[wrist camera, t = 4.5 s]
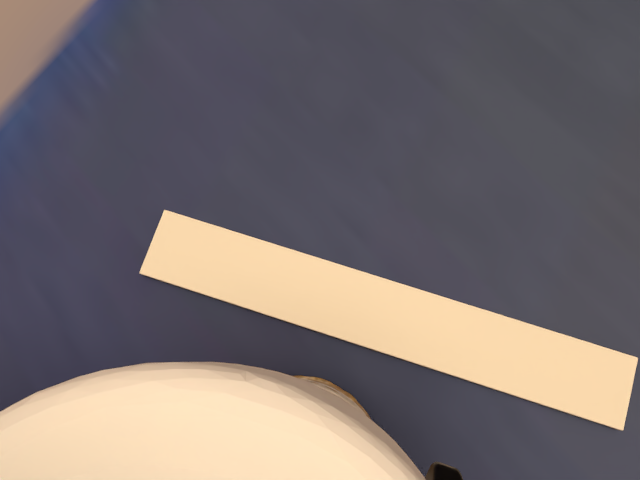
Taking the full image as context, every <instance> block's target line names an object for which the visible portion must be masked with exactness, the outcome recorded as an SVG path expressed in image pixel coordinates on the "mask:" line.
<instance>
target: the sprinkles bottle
mask: <svg viewBox="0 0 640 480" xmlns="http://www.w3.org/2000/svg"><path fill="white" fill-rule="evenodd" d="M0 480H426V479H425V478H424V476H423V475H422V474H421V472H420V471H419V470H418V468H417V467H416V466H415V464H414V463H413V462H412V461H411V459H410V458H409V457H408V456H407V455H406V454H405V452H404V451H403V450H402V449H401V448H400V446H399V445H398V444H397V443H396V442H395V441H394V440H393V439H392V438H391V437H390V436H389V435H388V434H387V433H386V432H385V431H384V430H383V429H381V428H380V427H379V426H378V425H377V424H375V423H374V422H373V421H372V420H371V419H370V417H369V415H368V413H367V412H366V411H365V409H364V408H363V407H362V406H361V405H360V404H359V403H358V402H357V401H356V399H355V398H354V397H353V396H352V395H351V394H349V393H348V392H346V391H344V390H342V389H341V388H340V387H338V386H336V385H334V384H333V383H331V382H329V381H327V380H324V379H321V378H317V377H307V376H290V375H287V374H283V373H280V372H276V371H272V370H268V369H263V368H258V367H252V366H247V365H241V364H231V363H221V362H163V363H144V364H138V365H132V366H126V367H120V368H113V369H107V370H102V371H98V372H94V373H90V374H87V375H83V376H79V377H76V378H74V379H71V380H68V381H66V382H63V383H60V384H57V385H55V386H52V387H49V388H47V389H44V390H41V391H39V392H36V393H34V394H32V395H30V396H28V397H26V398H25V399H23V400H21V401H19V402H17V403H15V404H13V405H11V406H9V407H8V408H6V409H4V410H3V411H1V412H0Z"/></svg>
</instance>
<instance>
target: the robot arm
mask: <svg viewBox="0 0 640 480" xmlns="http://www.w3.org/2000/svg"><path fill="white" fill-rule="evenodd" d="M425 479H426V480H463V478H462V475H461V473H460V472H459V470H458V469H456V468H454V467H451V466H448V465H445V464H442V463H439V462H434V463H433V464H432V465H431V466H430V468H429V471H428V473H427V475H426V477H425Z"/></svg>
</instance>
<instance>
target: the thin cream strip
mask: <svg viewBox="0 0 640 480" xmlns="http://www.w3.org/2000/svg"><path fill="white" fill-rule="evenodd" d="M140 274H142V275H144V276H148V277H151V278H154V279H157V280H160V281H163V282H166V283H169V284H172V285H175V286H178V287H181V288H184V289H187V290H191V291H194V292H197V293H200V294H203V295H206V296H209V297H212V298H215V299H218V300H221V301H224V302H227V303H230V304H234V305H237V306H240V307H243V308H246V309H249V310H252V311H255V312H258V313H261V314H264V315H267V316H270V317H273V318H276V319H280V320H283V321H286V322H289V323H292V324H295V325H298V326H301V327H304V328H307V329H310V330H313V331H316V332H319V333H323V334H326V335H329V336H332V337H335V338H338V339H341V340H344V341H347V342H350V343H353V344H356V345H359V346H362V347H366V348H369V349H372V350H375V351H378V352H381V353H384V354H387V355H390V356H393V357H396V358H399V359H402V360H405V361H408V362H412V363H415V364H418V365H421V366H424V367H427V368H430V369H433V370H436V371H439V372H442V373H445V374H448V375H451V376H455V377H458V378H461V379H464V380H467V381H470V382H473V383H476V384H479V385H482V386H485V387H488V388H491V389H494V390H498V391H501V392H504V393H507V394H510V395H513V396H516V397H519V398H522V399H525V400H528V401H531V402H534V403H537V404H540V405H544V406H547V407H550V408H553V409H556V410H559V411H562V412H565V413H568V414H571V415H574V416H577V417H580V418H583V419H587V420H590V421H593V422H596V423H599V424H602V425H605V426H608V427H611V428H614V429H617V430H622V431H623V429H624V424H625V419H626V414H627V409H628V404H629V400H630V395H631V390H632V385H633V380H634V375H635V370H636V365H637V361H638V358H637V357H634V356H630V355H627V354H624V353H621V352H618V351H614V350H611V349H608V348H605V347H602V346H598V345H595V344H592V343H589V342H586V341H582V340H579V339H576V338H573V337H570V336H566V335H563V334H560V333H557V332H554V331H550V330H547V329H544V328H541V327H538V326H534V325H531V324H528V323H525V322H522V321H518V320H515V319H512V318H509V317H506V316H502V315H499V314H496V313H493V312H490V311H486V310H483V309H480V308H477V307H474V306H470V305H467V304H464V303H461V302H458V301H455V300H451V299H448V298H445V297H442V296H439V295H435V294H432V293H429V292H426V291H423V290H419V289H416V288H413V287H410V286H407V285H403V284H400V283H397V282H394V281H391V280H387V279H384V278H381V277H378V276H375V275H371V274H368V273H365V272H362V271H359V270H355V269H352V268H349V267H346V266H343V265H339V264H336V263H333V262H330V261H327V260H323V259H320V258H317V257H314V256H311V255H307V254H304V253H301V252H298V251H295V250H292V249H288V248H285V247H282V246H279V245H276V244H272V243H269V242H266V241H263V240H260V239H256V238H253V237H250V236H247V235H244V234H240V233H237V232H234V231H231V230H228V229H224V228H221V227H218V226H215V225H212V224H208V223H205V222H202V221H199V220H196V219H192V218H189V217H186V216H183V215H180V214H176V213H173V212H170V211H167V210H164V212H163V215H162V217H161V220H160V222H159V225H158V227H157V230H156V232H155V235H154V237H153V240H152V242H151V245H150V247H149V250H148V252H147V255H146V258H145V260H144V263H143V265H142V268H141V270H140Z"/></svg>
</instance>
